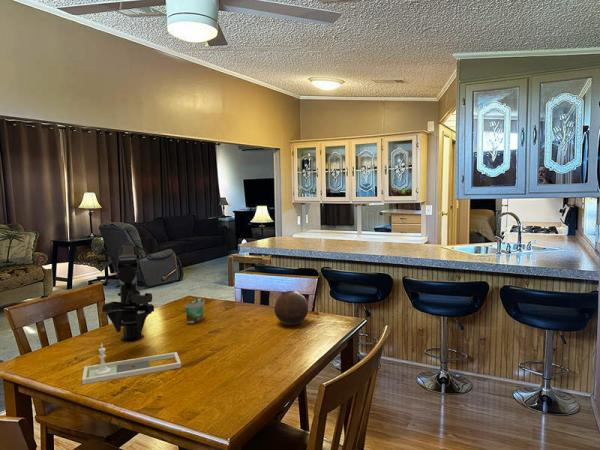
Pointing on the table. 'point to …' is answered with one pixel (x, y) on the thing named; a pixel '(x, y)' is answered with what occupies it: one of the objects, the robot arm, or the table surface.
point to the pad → (92, 372)
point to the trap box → (126, 367)
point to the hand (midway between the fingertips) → (129, 332)
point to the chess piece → (102, 364)
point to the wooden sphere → (291, 308)
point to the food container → (194, 311)
